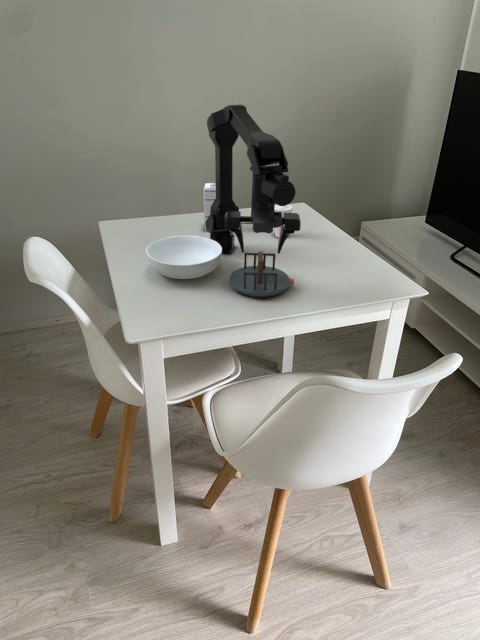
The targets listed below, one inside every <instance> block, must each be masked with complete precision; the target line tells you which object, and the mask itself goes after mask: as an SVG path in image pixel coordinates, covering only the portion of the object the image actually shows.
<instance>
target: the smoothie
mask: <svg viewBox="0 0 480 640" xmlns="http://www.w3.org/2000/svg"><path fill="white" fill-rule="evenodd" d="M293 208H294V207H293V206H292V205H290V204H288V205H286V206H279V205H277V204H275V208H274V210H275V211H276V212H282V217H283V216H284V213H293V211H294V210H293ZM280 231H281V227H278V228H274V236H275V237H276V238H279V237H280Z"/></svg>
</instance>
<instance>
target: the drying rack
mask: <svg viewBox="0 0 480 640" xmlns="http://www.w3.org/2000/svg"><path fill="white" fill-rule="evenodd" d="M247 256H253V265H247V258H248V257H247ZM266 257H272V266H267V265H266V262H267V261H266V260H267V259H266ZM228 279H229V285H230V286H231V287H232V288H233V289H234V291H235V290H236V291H237V292H239V293H240V292H242V293H245V294H249V295H255V296H269V295H275V294H277V295H279V294H281V293H283V292H285V291H286V290H287V289H288V288H289V287H290V285H295V279H294V278H290V276H289V275H288V274H287V273H286V272H284V270H281V269H280V268H276V253H275V252H273V253H270V252H268V253H266V252H264V251H263V250H262V251H260V250H258V252H244V257H243V267H239V268H237V269H235V270H233V271H232V272H231V273H230V275H229V278H228ZM242 293H241V294H242ZM278 293H279V294H278ZM275 296H276V295H275Z"/></svg>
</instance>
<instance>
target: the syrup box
mask: <svg viewBox="0 0 480 640" xmlns="http://www.w3.org/2000/svg"><path fill="white" fill-rule="evenodd" d="M202 190H203V220H204V222H203V224H204V226H203V227H204V231H205V232H208V231H207V230H206V226H205V222H206V220H207V218H208V217H209V215H210V208H211V205H212V204H213V202H214V200H215V198H216V182H207V183H204V185H203V189H202Z"/></svg>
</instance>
